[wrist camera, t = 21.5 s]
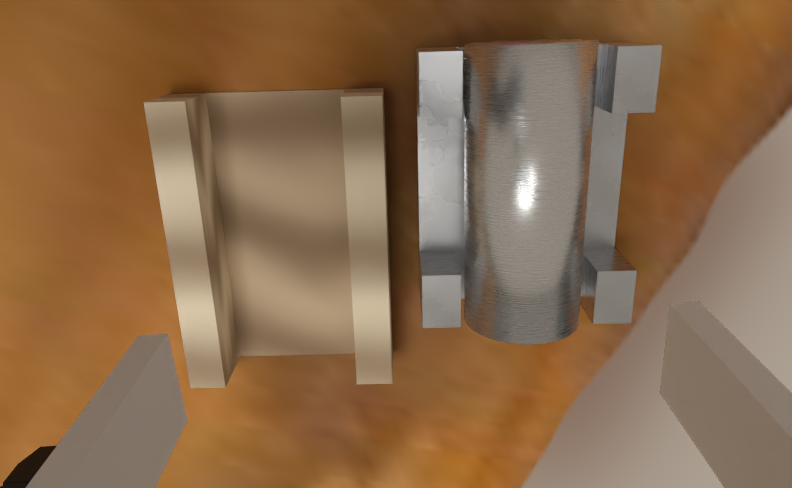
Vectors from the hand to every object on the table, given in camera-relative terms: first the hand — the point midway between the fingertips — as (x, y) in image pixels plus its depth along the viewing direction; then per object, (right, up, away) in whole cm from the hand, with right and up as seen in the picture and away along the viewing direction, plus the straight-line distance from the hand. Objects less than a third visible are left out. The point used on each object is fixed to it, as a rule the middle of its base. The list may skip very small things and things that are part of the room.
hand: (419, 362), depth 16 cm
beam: (-7, +4, +19) cm, 21 cm away
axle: (+7, +7, +17) cm, 20 cm away
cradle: (+6, +7, +18) cm, 20 cm away
